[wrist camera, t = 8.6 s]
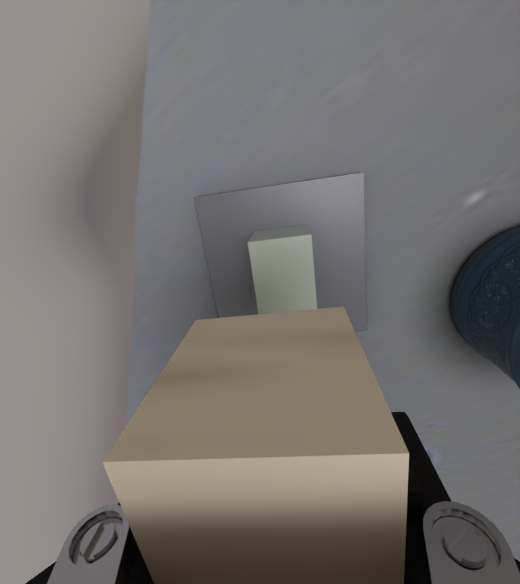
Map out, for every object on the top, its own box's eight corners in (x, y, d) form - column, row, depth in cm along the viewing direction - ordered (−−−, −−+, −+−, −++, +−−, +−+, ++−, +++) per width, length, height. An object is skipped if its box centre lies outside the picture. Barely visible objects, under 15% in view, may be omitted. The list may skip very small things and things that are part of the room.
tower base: (363, 324, 29) (382, 359, 24) (225, 336, 31) (211, 371, 25) (360, 172, 25) (382, 169, 19) (197, 196, 26) (172, 200, 21)
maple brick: (351, 479, 11) (399, 698, 6) (233, 481, 12) (197, 684, 7) (343, 306, 9) (409, 453, 4) (195, 320, 9) (101, 462, 5)
